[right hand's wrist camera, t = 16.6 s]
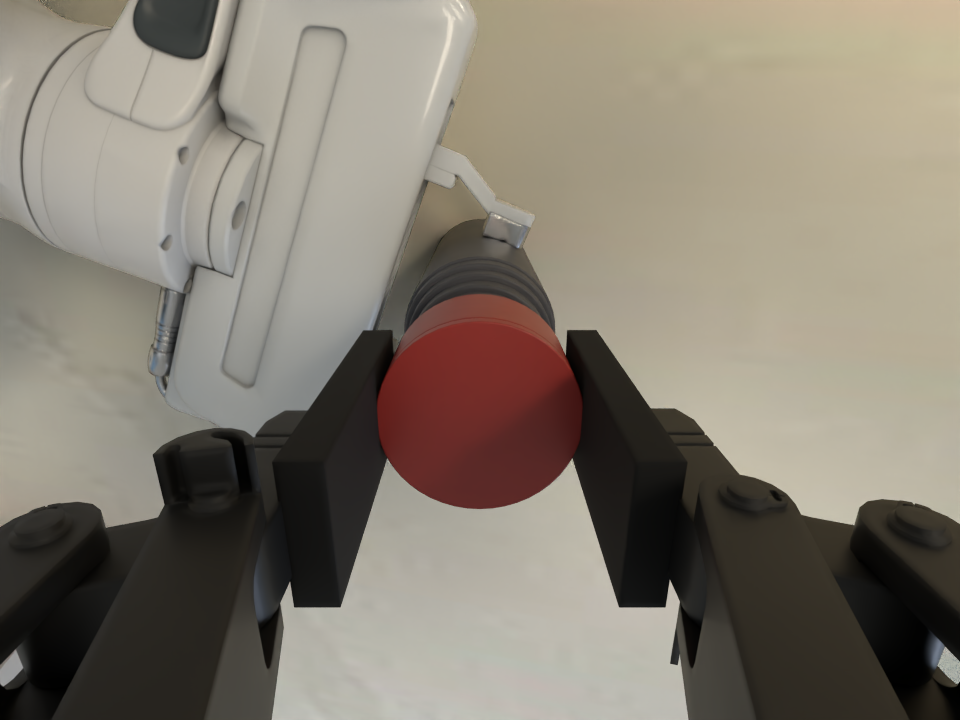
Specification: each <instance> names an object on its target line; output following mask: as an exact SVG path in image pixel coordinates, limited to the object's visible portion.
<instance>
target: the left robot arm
mask: <svg viewBox="0 0 960 720" xmlns="http://www.w3.org/2000/svg"><path fill="white" fill-rule="evenodd" d="M477 32H478V25H477V17H476V15H475V12H474V10H473V8H472V5H471V3H470V1H469V0H129V1H128V2H127V4H126V6H125V8H124V10H123V11H122V13H121V15H120V16H119V18H118V20H117V21H116V23H115V24H114V26H113V28H112V27H107V26H101V25H95V24H86V23H79V22H75V21H71V20H68V19H65V18H63V17H61V16H59V15H57V14H56V13H54V12H52V11H51V10H50V9H48V8H47V7H46V6H44V5H43V4H42V3H40V2H39V1H38V0H0V218H3V219H7V220H10V221H12V222H15V223H17V224H19V225H21V226H22V227H24V228H25V229H26V230H28V231H29V232H30V233H32V234H33V235H35V236H36V237H38V238H40V239H41V240H43V241H44V242H46V243H48V244H50V245H52V246H54V247H56V248H59V249H61V250H63V251H66V252H69V253H72V254H74V255H77V256H80V257H83V258H85V259H88V260H91V261H94V262H96V263H99V264H102V265H105V266H108V267H110V268H113V269H116V270H119V271H121V272H124V273H128V274H130V275H133V276H136V277H138V278H141V279H144V280H147V281H149V282H152V283H155V284H158V285H160V286H161V291H160V297H159V302H158V308H157V314H156V332H155V337H154V342H153V344H152V345H151V347H150V350H149V354H148V371H149V373H151V374H152V375H154V376H155V379H156V384H157V386H158V389H159V391H160V393H161V394H162V395H163V397H164V398H165V401H166V403H167V404H168V405H169V406H171V407H172V408H174V409H176V410H178V411H180V412H183V413H186V414H189V415H192V416H195V417H198V418H201V419H204V420H208V421H210V422H212V423H214V424H216V425H217V426H219V427H221V428H234V429H239V430H243V431H246V432H247V433H249V434H250V435H251V436H253V437H255V434H256V433H257V432H258V431H259V430H260V428H261V427H262V426H263V425H264V423H265V422H266V421H268V420H270V419H271V418H273V417H275V416H276V415H278V414H280V413H281V412H283V411H285V410H308V409H309V408H310V406H311V405H312V404H313V402H314V401H315V399H316V398H317V396H318V395H319V393H320V392H321V391H322V389H323V388H324V386H325V385H326V383H327V382H328V380H329V379H330V378H331V376H332V375H333V373H334V372H335V370H336V369H337V367H338V366H339V365H340V363H341V362H342V360H343V359H344V357H345V356H346V354H347V353H348V352H349V350H350V349H351V347H352V346H353V344H354V343H355V341H356V340H357V339H358V337H359V336H360V334H361V333H362V331H363V330H377V329H378V326H379V324H380V321H381V318H382V315H383V312H384V309H385V306H386V303H387V300H388V297H389V294H390V291H391V289H392V286H393V283H394V280H395V277H396V274H397V271H398V268H399V265H400V262H401V259H402V256H403V254H404V251H405V248H406V245H407V242H408V239H409V236H410V233H411V230H412V227H413V224H414V221H415V219H416V216H417V213H418V210H419V207H420V204H421V201H422V198H423V195H424V192H425V189H426V186H427V184H428V181H430V182H432V183H435V184H438V185H440V186H443V187H445V188H448V189H451V188H452V187H454V186H455V184H456V182H457V179H458V176H459V178H460V179H461V180H462V182H463V183H464V184H465V185H466V187H467V188H468V189H469V191H470V192H471V193H472V194H473V196H474V197H475V198H476V200H477V201H478V202H479V203H480V205H481V206H482V207H483V208H484V210H485V211H486V212H487V214H488V215H487V218H486V221H485V223H484V226H483V229H482V231H483V232H482V235H485V236H487V237H490V238H492V239H496V240H502V239H504V240H505V242H506V243H507V244H509V245H511V246H512V247H515V248H517V249H522V247H523V244H524V242H525V240H526V237H527V235H528V233H529V231H530V227H531V226H532V223H533V221H534V219H535V215H534V214H532V213H530V212H528V211H526V210H524V209H522V208H519V207H517V206H514V205H512V204H510V203H507V202H505V201H502V200H500V199H498V198H496V195H495V193H494V192H493V191H492V189H491V188H490V187H489V185H488V184H487V183H486V182H485V180H484V179H483V178H482V176H481V175H480V174H479V172H478V171H477V170H476V168H475V167H474V166H473V164H472V163H471V162H470V160H469V159H468V158H467V157H466V156H465V155H462V154H460V153H458V152H455V151H453V150H451V149H448V148H446V147H444V146H441V143H442V140H443V137H444V134H445V131H446V128H447V125H448V122H449V119H450V116H451V114H452V111H453V108H454V105H455V102H456V99H457V96H458V93H459V90H460V87H461V84H462V82H463V79H464V76H465V73H466V70H467V67H468V64H469V61H470V58H471V55H472V52H473V49H474V46H475V43H476V40H477ZM397 345H398V340H397V339H394V338H393V351H394V354H395V352H396V348H397ZM166 376H169V379H168V384H167V382H166V378H165V377H166Z"/></svg>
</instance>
